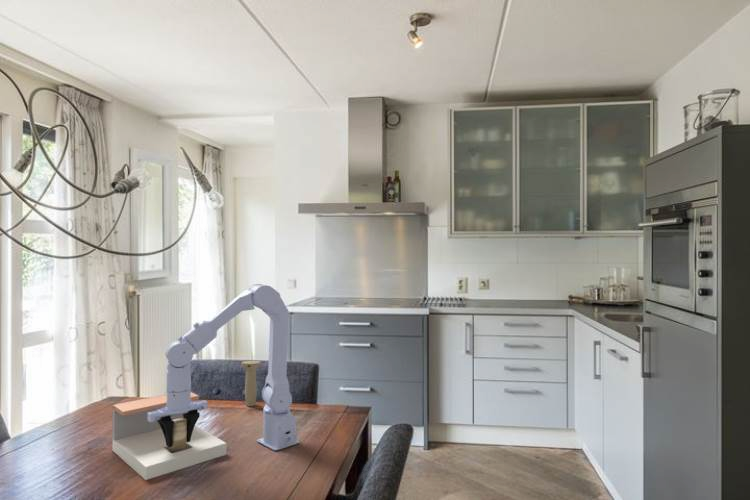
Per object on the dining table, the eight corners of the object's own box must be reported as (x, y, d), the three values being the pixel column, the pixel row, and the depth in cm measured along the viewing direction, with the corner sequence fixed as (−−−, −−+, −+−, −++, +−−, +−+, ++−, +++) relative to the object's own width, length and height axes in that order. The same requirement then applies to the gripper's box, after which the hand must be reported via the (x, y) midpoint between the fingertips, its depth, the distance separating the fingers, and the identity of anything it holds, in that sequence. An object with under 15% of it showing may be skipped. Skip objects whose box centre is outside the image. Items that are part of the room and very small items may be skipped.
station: (226, 454, 123) (226, 408, 123) (145, 480, 109) (146, 427, 109) (186, 430, 140) (187, 390, 140) (112, 450, 126) (112, 404, 126)
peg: (189, 452, 120) (189, 421, 120) (173, 457, 117) (173, 425, 118) (182, 448, 123) (182, 417, 123) (167, 452, 120) (167, 421, 120)
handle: (258, 407, 161) (258, 363, 162) (239, 407, 162) (239, 363, 162) (261, 403, 166) (262, 360, 167) (243, 403, 166) (243, 360, 167)
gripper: (199, 381, 128) (198, 431, 128) (143, 392, 118) (142, 446, 118) (211, 386, 123) (211, 438, 123) (153, 398, 113) (153, 455, 113)
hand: (178, 443), depth 120 cm, fingers closed on peg, 4 cm apart
